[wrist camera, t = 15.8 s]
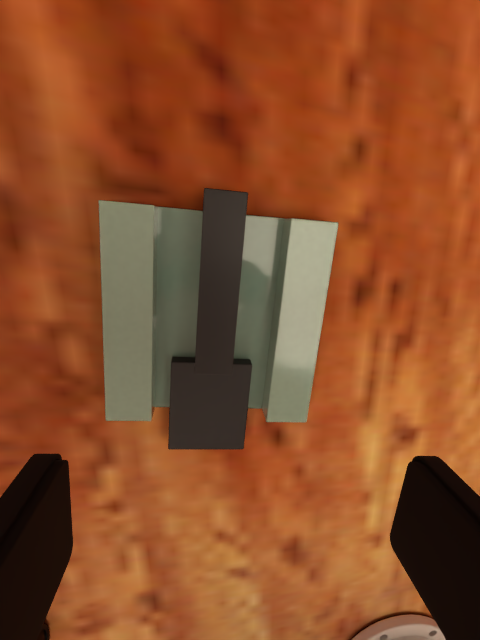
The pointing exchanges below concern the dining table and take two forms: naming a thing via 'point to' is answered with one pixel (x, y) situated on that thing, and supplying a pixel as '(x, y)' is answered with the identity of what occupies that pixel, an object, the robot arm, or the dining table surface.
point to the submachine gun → (44, 633)
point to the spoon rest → (182, 306)
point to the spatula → (214, 338)
